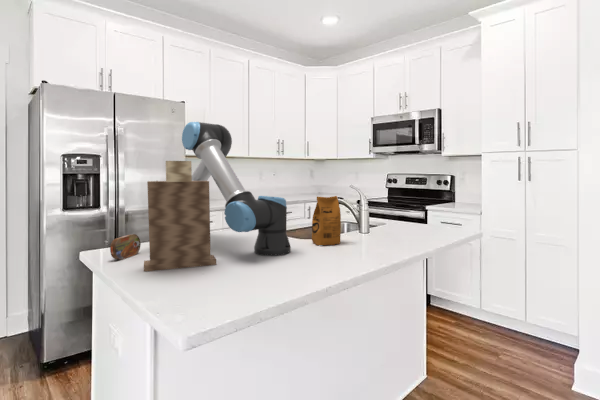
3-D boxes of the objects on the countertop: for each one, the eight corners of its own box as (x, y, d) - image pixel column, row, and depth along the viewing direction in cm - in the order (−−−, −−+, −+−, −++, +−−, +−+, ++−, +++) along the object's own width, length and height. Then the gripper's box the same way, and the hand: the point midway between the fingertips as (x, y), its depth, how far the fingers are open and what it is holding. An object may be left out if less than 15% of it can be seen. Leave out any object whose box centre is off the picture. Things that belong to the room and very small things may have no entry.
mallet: (186, 179, 144) (186, 161, 143) (191, 181, 125) (191, 160, 124) (165, 180, 141) (164, 161, 140) (166, 181, 122) (166, 160, 121)
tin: (116, 262, 135) (115, 239, 134) (108, 261, 136) (107, 239, 135) (141, 253, 150) (140, 232, 149) (134, 252, 150) (134, 232, 150)
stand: (213, 260, 138) (212, 180, 135) (216, 264, 132) (214, 181, 129) (144, 266, 129) (141, 181, 127) (143, 271, 123) (140, 182, 120)
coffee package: (309, 242, 171) (309, 195, 169) (333, 240, 176) (333, 195, 174) (318, 246, 162) (318, 197, 160) (342, 244, 167) (343, 196, 165)
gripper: (202, 211, 168) (207, 191, 150) (143, 214, 159) (141, 192, 141) (201, 197, 171) (206, 175, 153) (143, 198, 162) (141, 175, 144)
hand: (175, 183), depth 147 cm, fingers open, 13 cm apart
